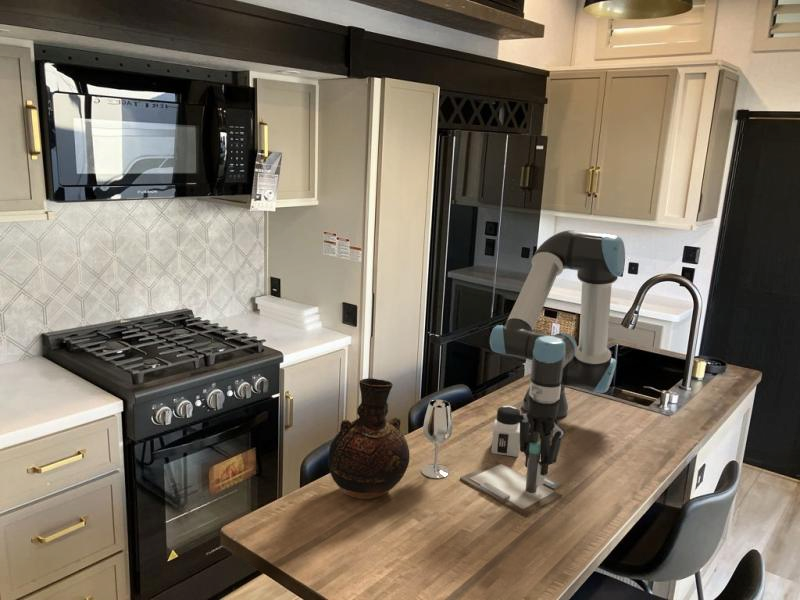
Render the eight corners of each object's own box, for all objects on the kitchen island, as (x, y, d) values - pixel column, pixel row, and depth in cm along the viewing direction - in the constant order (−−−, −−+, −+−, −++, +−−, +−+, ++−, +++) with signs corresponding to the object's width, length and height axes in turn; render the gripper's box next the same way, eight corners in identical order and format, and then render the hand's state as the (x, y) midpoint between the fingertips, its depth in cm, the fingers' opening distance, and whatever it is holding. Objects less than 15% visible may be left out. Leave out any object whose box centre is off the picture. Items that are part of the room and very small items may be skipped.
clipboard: (496, 463, 182) (497, 458, 182) (561, 497, 167) (562, 491, 166) (459, 479, 173) (460, 474, 172) (525, 517, 157) (526, 511, 156)
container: (518, 457, 186) (522, 415, 183) (491, 453, 188) (494, 412, 185) (518, 445, 194) (522, 405, 191) (492, 441, 195) (496, 402, 192)
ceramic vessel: (336, 517, 153) (339, 399, 146) (319, 480, 169) (321, 372, 162) (418, 503, 161) (425, 391, 153) (395, 469, 176) (400, 366, 169)
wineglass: (434, 461, 182) (438, 395, 177) (455, 472, 176) (460, 404, 171) (414, 470, 176) (418, 402, 171) (435, 482, 171) (440, 412, 166)
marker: (526, 486, 170) (530, 440, 166) (537, 488, 168) (542, 443, 165) (524, 491, 167) (528, 445, 164) (535, 494, 166) (540, 448, 163)
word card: (534, 471, 179) (534, 470, 179) (561, 485, 172) (561, 483, 172) (526, 475, 176) (526, 474, 176) (553, 489, 170) (553, 488, 170)
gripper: (510, 391, 165) (502, 474, 171) (560, 412, 154) (550, 500, 160) (528, 385, 170) (520, 466, 176) (578, 404, 159) (568, 490, 165)
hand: (534, 482), depth 168 cm, fingers closed on marker, 2 cm apart
